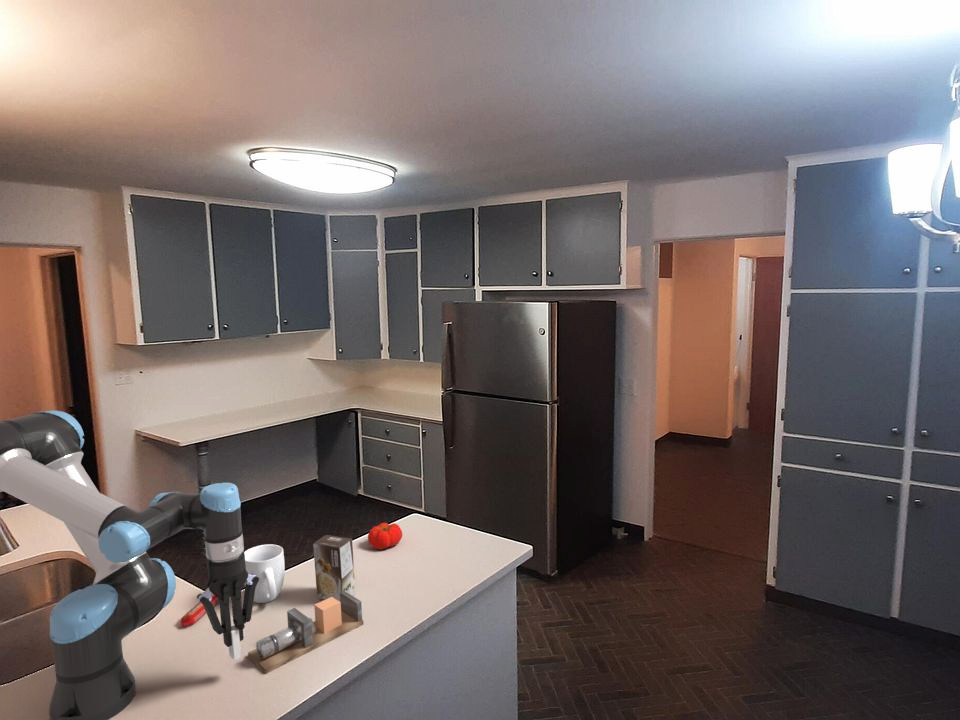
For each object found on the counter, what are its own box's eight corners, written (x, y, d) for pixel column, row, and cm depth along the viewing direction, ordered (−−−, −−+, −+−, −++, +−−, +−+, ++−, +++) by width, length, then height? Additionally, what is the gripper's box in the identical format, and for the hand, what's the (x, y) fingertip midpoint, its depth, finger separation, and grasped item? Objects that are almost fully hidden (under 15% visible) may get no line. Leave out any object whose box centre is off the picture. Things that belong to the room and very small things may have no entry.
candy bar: (214, 596, 165) (213, 586, 165) (226, 597, 165) (225, 587, 164) (177, 629, 150) (176, 618, 149) (190, 630, 149) (189, 619, 149)
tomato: (363, 547, 194) (362, 528, 193) (386, 535, 203) (385, 517, 202) (384, 555, 188) (384, 535, 187) (407, 542, 197) (407, 523, 196)
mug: (295, 605, 159) (292, 560, 157) (252, 619, 153) (249, 571, 151) (280, 583, 171) (277, 540, 170) (240, 594, 165) (237, 550, 164)
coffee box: (356, 592, 165) (353, 538, 163) (343, 604, 159) (340, 548, 157) (329, 587, 168) (326, 533, 166) (315, 598, 163) (312, 543, 161)
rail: (266, 673, 131) (263, 643, 130) (248, 656, 137) (246, 627, 136) (363, 624, 150) (362, 597, 149) (343, 611, 156) (342, 585, 155)
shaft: (264, 662, 133) (263, 645, 133) (256, 654, 136) (255, 638, 136) (316, 637, 143) (315, 621, 142) (307, 630, 145) (306, 615, 145)
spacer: (324, 633, 144) (322, 610, 143) (315, 627, 147) (314, 604, 146) (341, 624, 148) (340, 602, 147) (333, 618, 151) (331, 596, 150)
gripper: (201, 571, 120) (212, 678, 123) (262, 549, 129) (271, 649, 132) (187, 560, 125) (198, 663, 128) (247, 540, 134) (256, 636, 137)
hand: (235, 656), depth 130 cm, fingers closed
